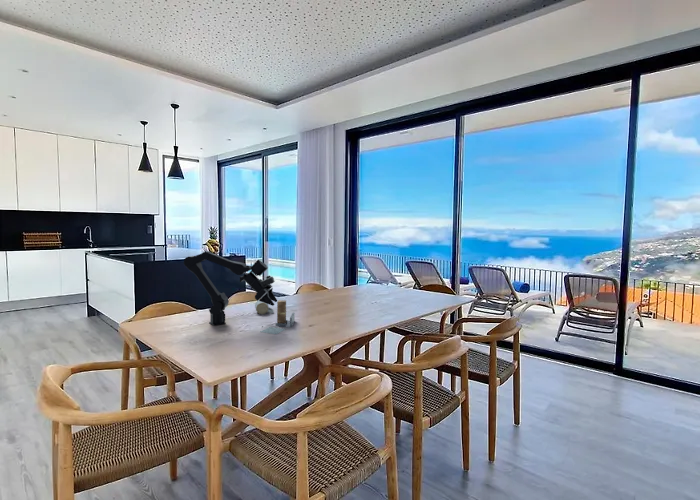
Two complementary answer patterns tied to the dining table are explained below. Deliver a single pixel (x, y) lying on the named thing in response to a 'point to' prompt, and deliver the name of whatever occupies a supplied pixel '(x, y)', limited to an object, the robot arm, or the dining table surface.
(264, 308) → the ceramic mug
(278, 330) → the mat
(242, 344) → the dining table surface
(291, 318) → the bracket
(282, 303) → the tan rectangular block
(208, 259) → the robot arm
